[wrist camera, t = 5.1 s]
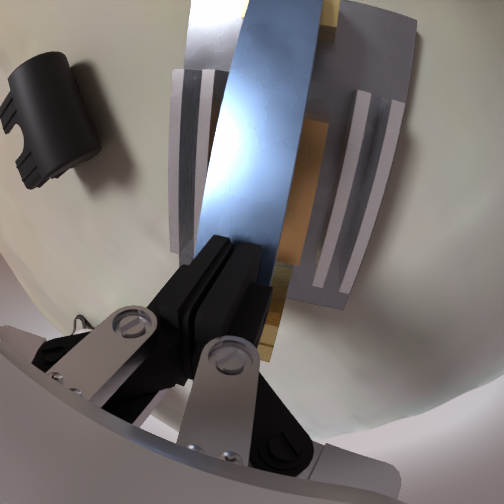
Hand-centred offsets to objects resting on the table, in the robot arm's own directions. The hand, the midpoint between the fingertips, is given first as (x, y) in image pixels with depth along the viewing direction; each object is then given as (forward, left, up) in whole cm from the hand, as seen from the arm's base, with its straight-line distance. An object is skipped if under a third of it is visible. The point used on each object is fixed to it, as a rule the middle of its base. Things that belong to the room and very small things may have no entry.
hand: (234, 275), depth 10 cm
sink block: (-2, 0, -12) cm, 12 cm away
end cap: (-4, -19, -12) cm, 23 cm away
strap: (-4, 0, -3) cm, 5 cm away
